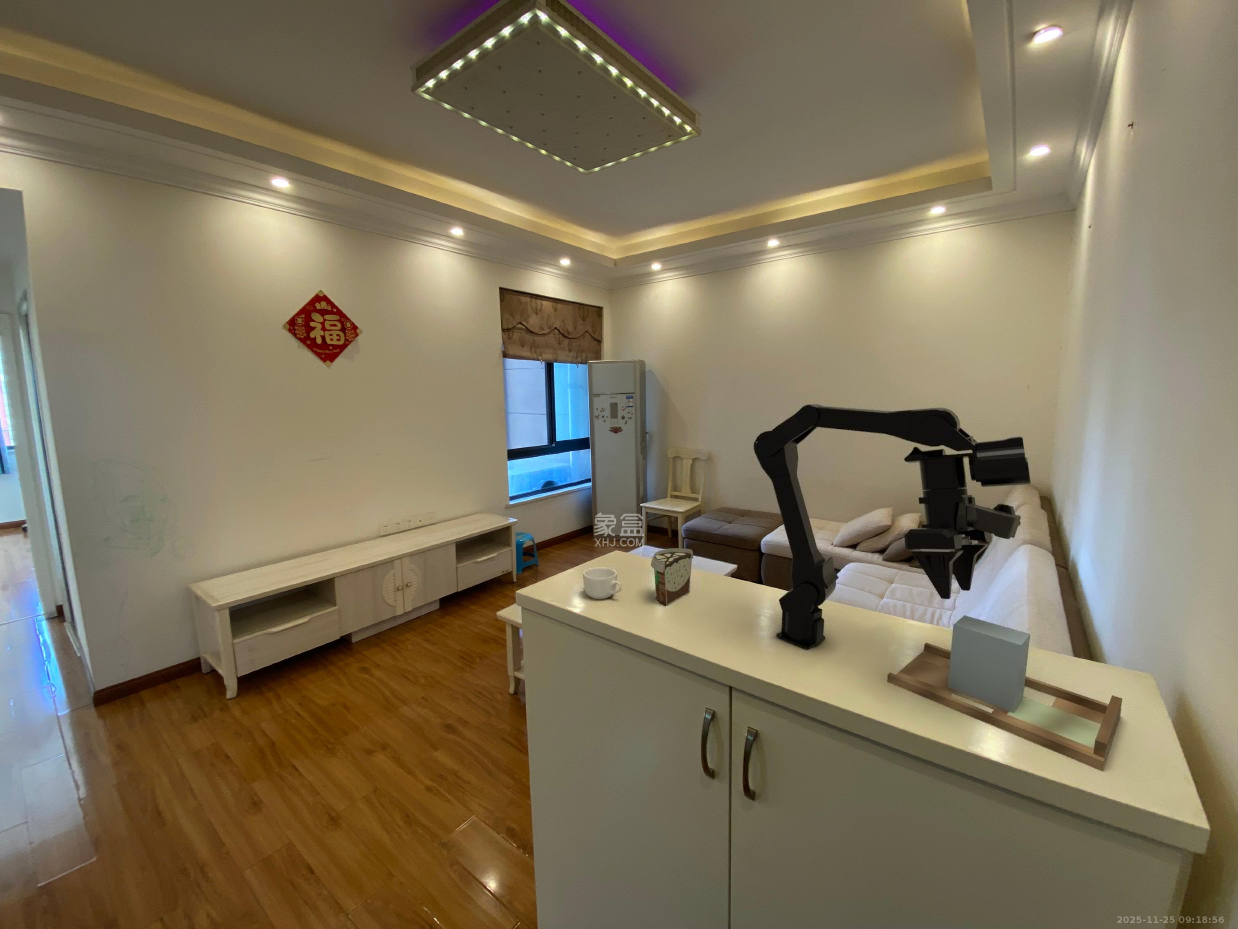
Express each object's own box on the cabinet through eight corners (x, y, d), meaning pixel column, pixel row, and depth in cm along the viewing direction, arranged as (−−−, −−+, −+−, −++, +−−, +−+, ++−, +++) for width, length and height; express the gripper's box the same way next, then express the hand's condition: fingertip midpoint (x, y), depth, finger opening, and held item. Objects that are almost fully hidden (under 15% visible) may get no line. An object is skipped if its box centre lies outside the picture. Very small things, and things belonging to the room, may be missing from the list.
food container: (670, 585, 119) (671, 544, 117) (692, 591, 115) (693, 549, 113) (639, 601, 109) (639, 557, 108) (662, 608, 105) (663, 563, 104)
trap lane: (886, 687, 76) (888, 663, 76) (925, 654, 86) (927, 632, 86) (1101, 778, 58) (1105, 747, 58) (1119, 723, 68) (1123, 696, 67)
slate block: (947, 687, 75) (953, 624, 73) (958, 675, 78) (964, 615, 77) (1013, 713, 69) (1021, 645, 67) (1022, 699, 72) (1030, 634, 70)
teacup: (575, 596, 112) (575, 573, 111) (598, 586, 118) (598, 564, 117) (609, 608, 106) (609, 583, 105) (631, 596, 112) (631, 573, 111)
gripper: (991, 485, 63) (1007, 610, 62) (1025, 485, 75) (1039, 591, 74) (898, 491, 72) (909, 601, 70) (942, 491, 84) (952, 585, 82)
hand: (956, 594), depth 74 cm, fingers open, 9 cm apart
